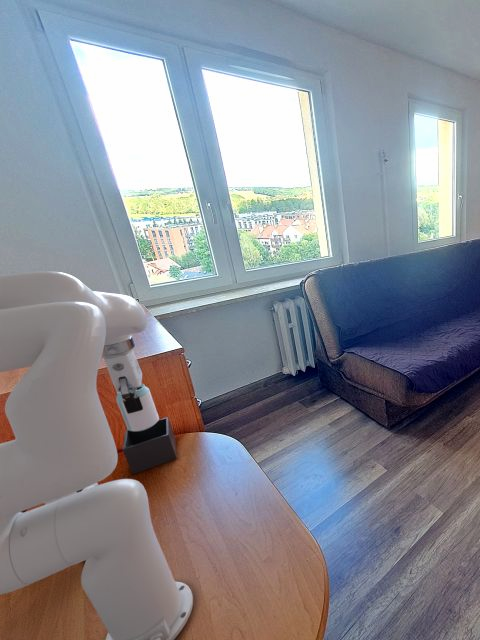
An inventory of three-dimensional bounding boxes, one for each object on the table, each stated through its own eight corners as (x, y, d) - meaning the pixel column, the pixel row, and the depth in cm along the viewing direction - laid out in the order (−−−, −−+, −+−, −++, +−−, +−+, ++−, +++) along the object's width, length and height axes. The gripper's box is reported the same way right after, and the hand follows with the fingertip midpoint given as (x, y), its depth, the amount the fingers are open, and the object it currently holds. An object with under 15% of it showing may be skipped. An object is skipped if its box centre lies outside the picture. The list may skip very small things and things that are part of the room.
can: (149, 415, 98) (136, 380, 94) (165, 420, 96) (153, 384, 92) (122, 429, 92) (107, 393, 88) (139, 435, 90) (124, 398, 86)
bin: (176, 458, 98) (168, 434, 94) (132, 474, 92) (122, 449, 89) (175, 439, 105) (168, 416, 102) (134, 453, 99) (125, 429, 96)
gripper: (131, 355, 81) (153, 415, 87) (135, 332, 94) (154, 386, 100) (89, 363, 77) (115, 426, 83) (99, 338, 90) (121, 394, 96)
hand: (136, 403), depth 92 cm, fingers closed on can, 7 cm apart
